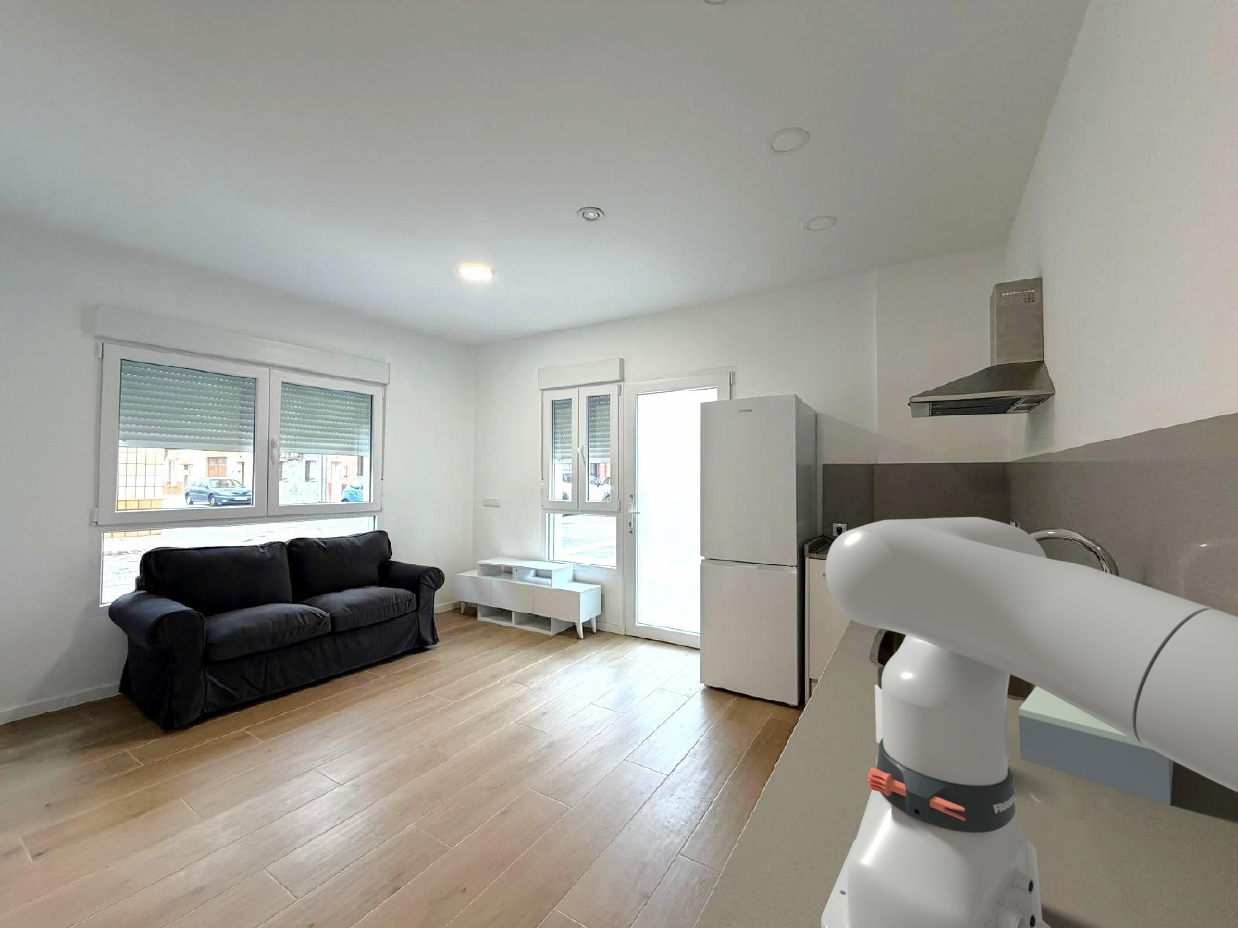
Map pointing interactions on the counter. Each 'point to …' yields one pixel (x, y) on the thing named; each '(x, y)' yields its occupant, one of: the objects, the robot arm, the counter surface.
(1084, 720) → the lid
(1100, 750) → the box
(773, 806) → the counter surface
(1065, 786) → the counter surface
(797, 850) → the counter surface
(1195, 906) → the counter surface
